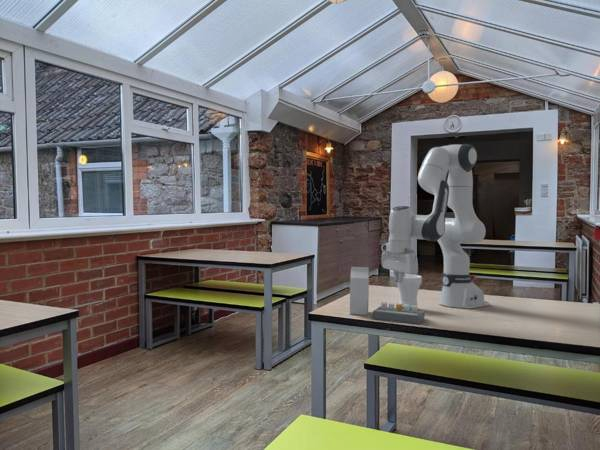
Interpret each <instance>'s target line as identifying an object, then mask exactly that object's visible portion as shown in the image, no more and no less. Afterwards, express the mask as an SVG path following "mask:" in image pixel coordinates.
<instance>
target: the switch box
mask: <svg viewBox="0 0 600 450" xmlns="http://www.w3.org/2000/svg"><path fill="white" fill-rule="evenodd" d="M380 305H381V306H379V307H377V308H376V309H374V310H373V311H372V320H380V321H387V322H388V321H389V322H390V321H391V322H394V323H395V322H398V323H406V324H413V325H420V324H421V323H422V322H424V320H425V318H426V317H425V314H426V312H425V310H418V304H417V305H412V306H411V310H410V305H407V304H404V309H402V311H398V310H396V306H395V303H394V302H389V303H388V302H386V301H384V302H383V301H382V302H381V303H380Z"/></svg>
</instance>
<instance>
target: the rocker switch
mask: <svg viewBox="0 0 600 450" xmlns="http://www.w3.org/2000/svg"><path fill="white" fill-rule="evenodd" d="M395 308H396V310H398V311H402V304H399V303H396V304H395Z"/></svg>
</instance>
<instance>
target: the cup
mask: <svg viewBox="0 0 600 450" xmlns="http://www.w3.org/2000/svg"><path fill="white" fill-rule="evenodd" d="M395 283H396V285H397V288H398V293H399V302H398V304H402V309H404V304H407V305H410V310H411V306H412V305H417V306H418V292H419V289H420V286H421V284H422V283H423V276H422V275H418V274H406V273H405V276H404V278H403V283H397V282H395Z"/></svg>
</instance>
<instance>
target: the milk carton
mask: <svg viewBox="0 0 600 450" xmlns="http://www.w3.org/2000/svg"><path fill="white" fill-rule="evenodd" d="M369 268H370V267H367V266H366V267H365V266H364V267H362V266H351V268H350V277H349V279H350V281H349V315H359V316H360V315H362V316H363V315H364V316H367V315H368V313H369V296H370V295H369V294H370V291H369V288H370V287H369V286H370V272H369V271H370V270H369Z"/></svg>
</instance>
